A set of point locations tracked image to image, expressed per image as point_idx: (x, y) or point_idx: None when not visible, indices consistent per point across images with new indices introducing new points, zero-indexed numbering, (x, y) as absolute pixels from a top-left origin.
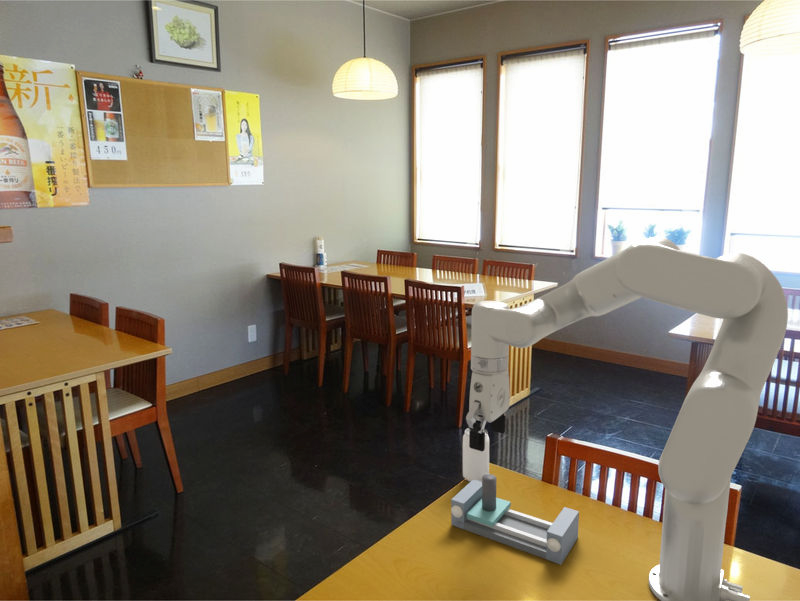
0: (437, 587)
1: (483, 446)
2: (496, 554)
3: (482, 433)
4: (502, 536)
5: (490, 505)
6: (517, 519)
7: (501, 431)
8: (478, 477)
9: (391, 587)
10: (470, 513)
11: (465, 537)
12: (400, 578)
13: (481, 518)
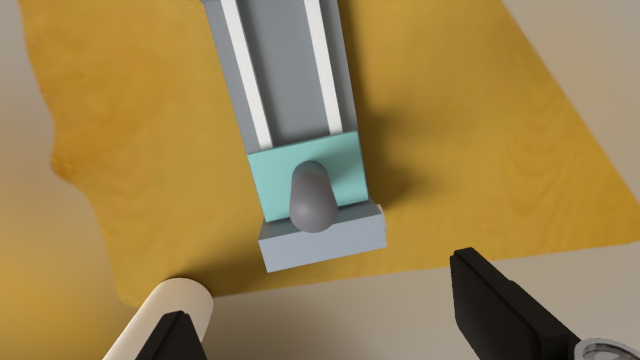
0: (547, 104)
1: (487, 262)
2: (391, 83)
3: (561, 340)
4: (352, 99)
5: (323, 169)
6: (269, 114)
7: (187, 327)
8: (195, 290)
9: (590, 165)
10: (362, 193)
11: (385, 169)
12: (562, 171)
13: (361, 161)
